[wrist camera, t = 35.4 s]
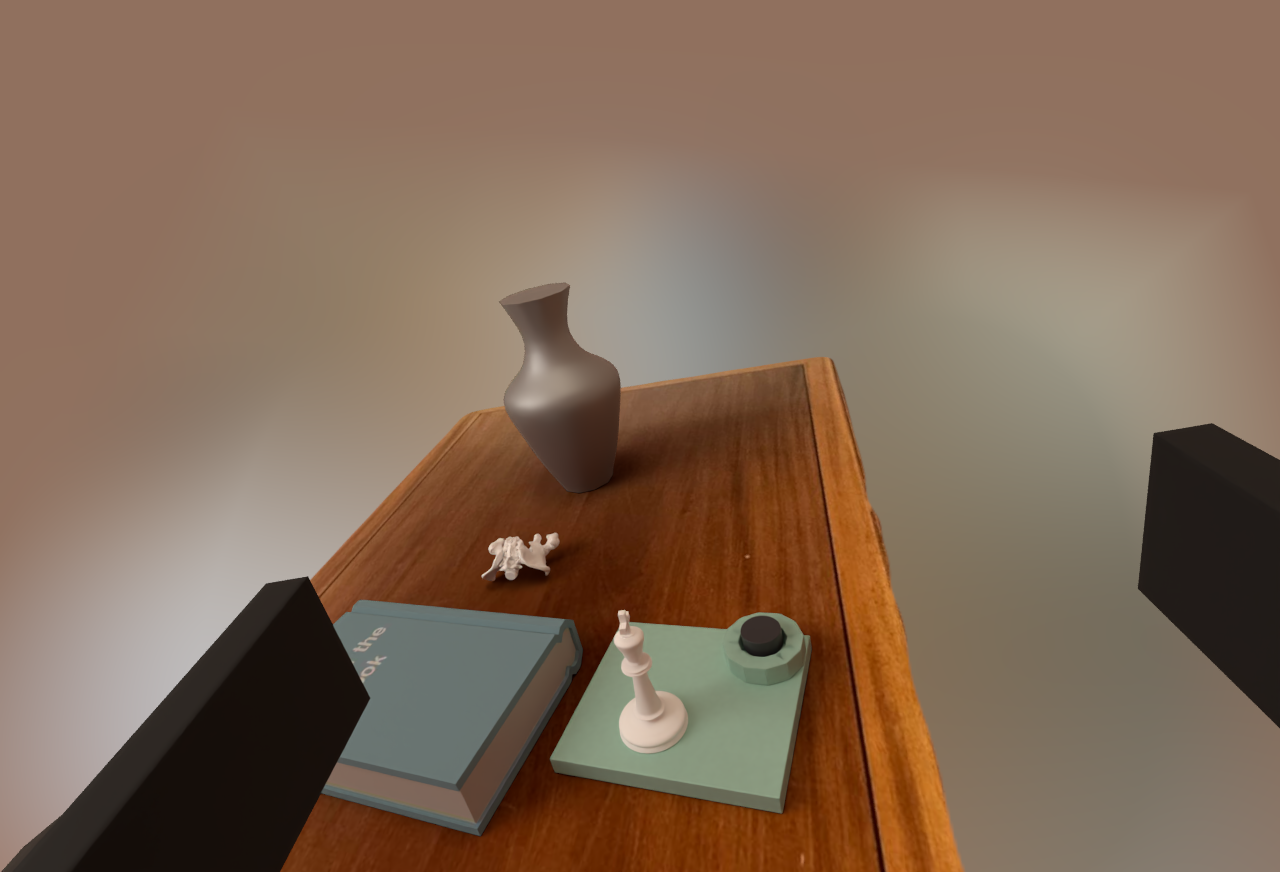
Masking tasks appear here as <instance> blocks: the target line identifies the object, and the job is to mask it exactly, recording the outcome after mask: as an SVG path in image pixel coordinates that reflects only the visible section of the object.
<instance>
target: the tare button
mask: <svg viewBox="0 0 1280 872" xmlns="http://www.w3.org/2000/svg"><path fill="white" fill-rule="evenodd" d="M740 632H741V637H742V642H743V647H744V649H745V650H746V652H747V653H749V654H750V655H752V656H757V657H766V656H770V655H773V654H776V653H777V652H778V651H779V650H780V649H781V648H782V646H783V636H782V630H781V625H780V623H779V622H778V621H777V620H776V619H774V618H772V617H769V616H755V617H752V618H750V619H748V620H747V621H745V622H744V623H743V625H742V627H741V631H740Z"/></svg>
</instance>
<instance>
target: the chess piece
mask: <svg viewBox="0 0 1280 872" xmlns="http://www.w3.org/2000/svg"><path fill="white" fill-rule="evenodd" d="M618 618H619V621H620V626H619V631H618V632H617V633H616V635H615V637H614V643H615V645H616V647H617V648H618V649H619V650H620V651H621V652H622V654H623V655H624V657H625V658H624V659H623V661H622V664H621V670H622V672H623V673H624V674H625V675H626V676H629V677H632V678H633V684H634V691H635V698H634V699H632V700H631V701H630V702H629V703H628V704H627V705H626V706H625V707H624V709H623V711H622V713H621V715H620V718H619V729H620V736H621V739H622V741H623V742H624V744H625V745H626V746H627V747H628V748H630V749H632V750H633V751H636V752H639V753H645V754H651V753H657V752H661V751H664V750H666V749H668V748H670V747H672V746H673V745H674V744H676V743H677V742H678V741H679V740H680V739H681V738H682V736H683V735H684V733H685V731H686V729H687V726H688V714H687V711H686V709H685V707H684V705H683V703H682V701H681V700H680V699H679V698H678V697H677V696H675V695H673V694H671V693H669V692H665V691H655V690H654V688H653V685H652V683H651V681H650V679H649V677H648V674H647V672H648V671H649V670H650V668H651V666H652V659H651V657H650V656H649V655H648V654H647V653H645V652H642V651H643V642H644V633H643V631H642V630H641V629H640V628H638V627H636V626H630V625H629V618H630V616H629V612H628V611H627V612H626V611H625V610H622V611H618Z"/></svg>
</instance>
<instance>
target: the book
mask: <svg viewBox="0 0 1280 872" xmlns="http://www.w3.org/2000/svg"><path fill="white" fill-rule="evenodd" d="M333 626H334V628H335V630H336V632H337V634H338V636H339V638H340V640H341V642H342V644H343V646H344V648H345V650H346V651H347V653H348V655H349V657H350V659H351V661H352V663H353V665H354V667H355V669H356V671H357V673H358V675H359V677H360V679H361V681H362V683H363V684H364V686H365V688H366V690H367V692H368V694H369V696H370V700H369V702H368V704H367V706H366V708H365V710H364V712H363V714H362V715H361V717H360V719H359V721H358V723H357V725H356V727H355V729H354V731H353V733H352V735H351V737H350V738H349V740H348V742H347V744H346V746H345V748H344V750H343V752H342V754H341V756H340V758H339V760H338V761H337V763H336V765H335V767H334V769H333V771H332V773H331V775H330V777H329V779H328V781H327V782H326V784H325V786H324V788H323V790H322V792H321V793H322V794H326V795H330V796H334V797H337V798H341V799H345V800H348V801H352V802H356V803H359V804H363V805H367V806H371V807H374V808H378V809H382V810H385V811H389V812H393V813H396V814H400V815H404V816H407V817H411V818H415V819H419V820H422V821H426V822H430V823H433V824H437V825H441V826H444V827H448V828H452V829H456V830H459V831H463V832H467V833H470V834H474V835H478V836H481V835H482V833H483V831H484V829H485V828H486V826H487V824H488V823H489V821H490V819H491V818H492V816H493V814H494V812H495V811H496V809H497V807H498V806H499V804H500V802H501V801H502V799H503V797H504V796H505V794H506V792H507V790H508V789H509V787H510V785H511V784H512V782H513V780H514V779H515V777H516V775H517V773H518V772H519V770H520V768H521V767H522V765H523V763H524V762H525V760H526V758H527V756H528V755H529V753H530V751H531V750H532V748H533V746H534V745H535V743H536V741H537V739H538V738H539V736H540V734H541V733H542V731H543V729H544V728H545V726H546V724H547V722H548V721H549V719H550V717H551V716H552V714H553V712H554V711H555V709H556V707H557V705H558V704H559V702H560V700H561V699H562V697H563V695H564V694H565V692H566V690H567V688H568V687H569V685H570V683H571V681H572V674H576V673H577V671H578V670H579V668H580V666H581V660H582V653H583V649H582V646H581V643H580V640H579V637H578V634H577V630H576V627H575V624H574V621H573V620H567V619H557V618H546V617H536V616H526V615H515V614H505V613H494V612H484V611H474V610H463V609H453V608H442V607H432V606H422V605H411V604H401V603H390V602H380V601H369V600H359V601H358V602H357V603H356V604H355V605H354V606H353V608H352V612H346V613H345V614H344V615H343V616H342V617H341V618H340V619H339V620H337V621H336V622H335V623H334V624H333Z"/></svg>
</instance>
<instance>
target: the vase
mask: <svg viewBox="0 0 1280 872" xmlns="http://www.w3.org/2000/svg"><path fill="white" fill-rule="evenodd" d="M569 288H570V285H569V284H566V283H555V284H547V285H542V286H538V287H534V288H530V289H526V290H523V291H520V292H518V293H515V294H512V295H509V296H507V297H506V298H504V299H502V300H501V301H499V303H500V304H501V305H502V306H503V308H504V309H505V310H506V312H507V313H508V315H509V316H510V317H511V319H512V320H513V322H514V323H515V325H516V326H517V328H518V329H519V332H520V333H521V335H522V338H523V341H524V344H525V356H524V361H523V365H522V367H521V370H520V371H519V372H518V374H517V375H516V376H515V377H514V379H513V380H512V382H511V383H510V384H509V386H508V388H507V389H506V391H505V396H504V405H505V409H506V411H507V413H508V415H509V417H510V419H511V420H512V422H513V423H514V425H515V426H516V428H517V429H518V430H519V432H520V433H521V435H522V436H523V438H524V439H525V440H526V442H527V443H528V445H529V446H530V447H531V449H532V450H533V451H534V453H535V454H536V456H537V457H538V458H539V459H540V461H541V462H542V463H543V464H544V466H545V467H546V468H547V469H548V470H549V472H550V473H551V474H552V475H553V476H554V477H555V478H556V479H557V480H558V482H559V483H560V484H561V485H562V486H563V487H564V488H565V489H566V491H569V492H576V493H581V492H586V491H590V490H595V489H597V488H599V487H600V486H602V485H604V484H606V483H607V482H609V480H610V478H611V477H612V475H613V466H614V461H615V455H616V448H617V440H618V429H619V412H620V378H619V374H618V371H617V369H616V368H615V367H614V365H613V364H611V363H610V362H609V361H607V360H605V359H604V358H601V357H599V356H597V355H594V354H591V353H589V352H587V351H585V350H584V349H582V348H581V347H580V346H579V345H578V344H577V343H576V341H574V339H573V337H572V335H571V334H570V332H569V328H568V324H567V305H568V295H569Z"/></svg>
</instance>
